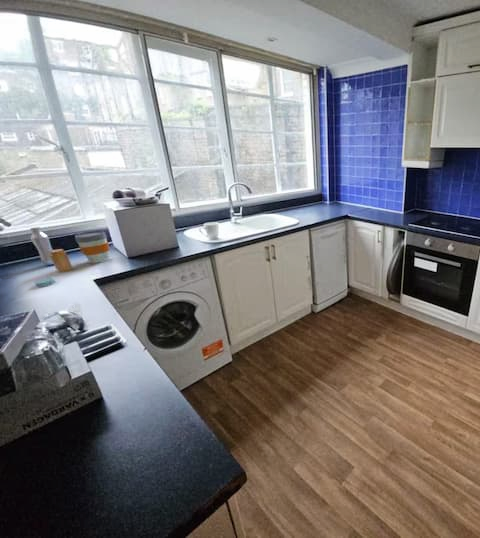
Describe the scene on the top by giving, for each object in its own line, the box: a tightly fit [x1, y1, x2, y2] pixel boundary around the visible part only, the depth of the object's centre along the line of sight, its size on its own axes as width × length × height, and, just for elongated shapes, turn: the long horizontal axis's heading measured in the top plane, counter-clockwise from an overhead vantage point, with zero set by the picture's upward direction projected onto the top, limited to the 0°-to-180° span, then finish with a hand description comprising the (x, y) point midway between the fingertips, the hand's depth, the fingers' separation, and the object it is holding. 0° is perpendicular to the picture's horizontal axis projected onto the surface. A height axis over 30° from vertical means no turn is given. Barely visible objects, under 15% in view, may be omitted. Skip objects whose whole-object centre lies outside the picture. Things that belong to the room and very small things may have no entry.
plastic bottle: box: [29, 226, 54, 266], centre depth 154 cm, size 6×7×20 cm
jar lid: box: [34, 277, 56, 288], centre depth 134 cm, size 6×6×2 cm
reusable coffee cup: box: [74, 230, 111, 264], centre depth 159 cm, size 13×13×15 cm
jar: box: [50, 248, 74, 273], centre depth 148 cm, size 6×6×10 cm
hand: (7, 227), depth 134 cm, fingers open, 8 cm apart
